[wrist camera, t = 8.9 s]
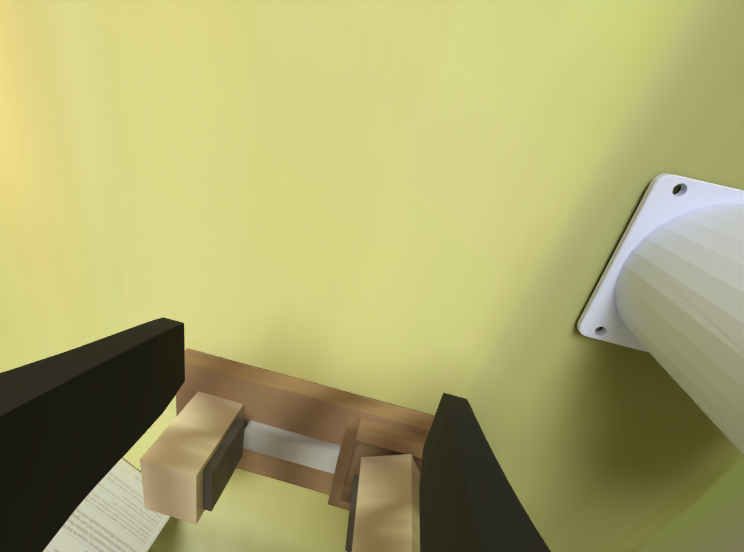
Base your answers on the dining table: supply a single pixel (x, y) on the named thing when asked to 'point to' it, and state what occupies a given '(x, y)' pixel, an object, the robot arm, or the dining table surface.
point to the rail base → (268, 436)
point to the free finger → (385, 506)
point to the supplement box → (111, 517)
